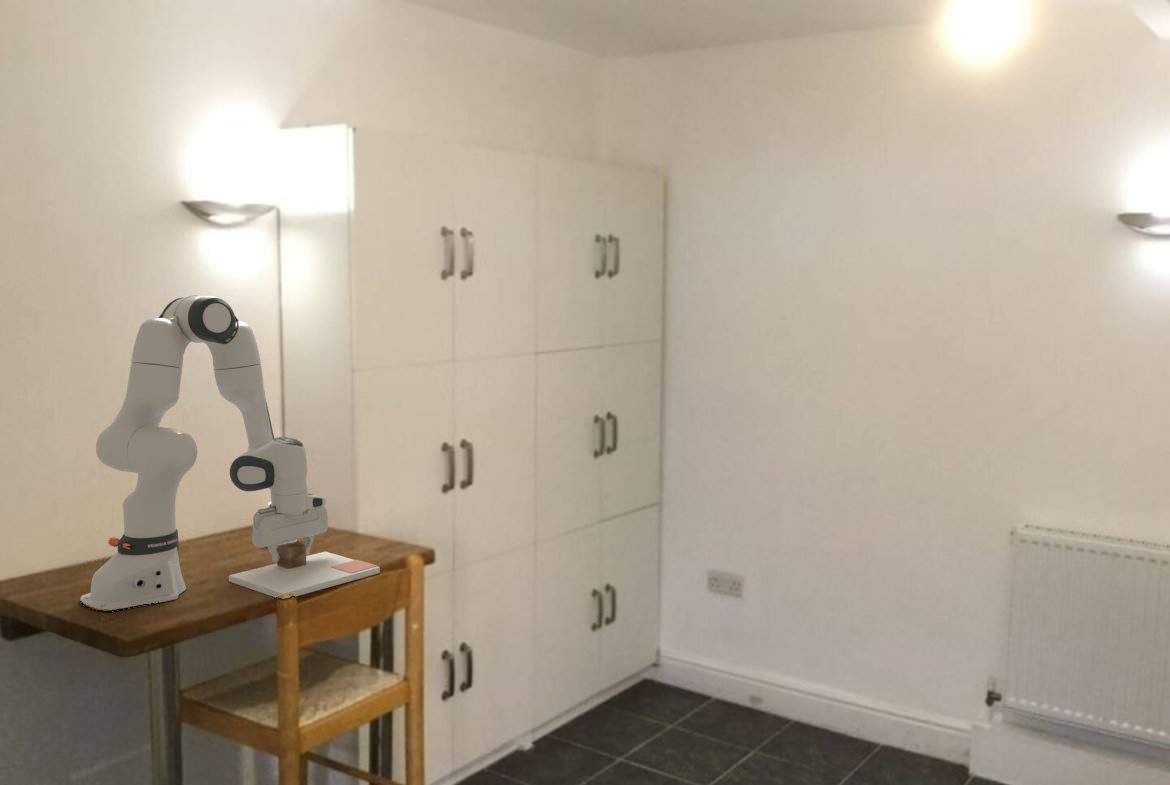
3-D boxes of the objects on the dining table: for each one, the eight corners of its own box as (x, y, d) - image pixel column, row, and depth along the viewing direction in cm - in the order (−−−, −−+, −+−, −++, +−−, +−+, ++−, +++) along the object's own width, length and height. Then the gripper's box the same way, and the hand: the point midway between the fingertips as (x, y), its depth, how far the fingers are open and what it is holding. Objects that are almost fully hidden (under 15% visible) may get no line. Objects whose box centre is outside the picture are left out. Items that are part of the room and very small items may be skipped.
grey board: (282, 600, 242) (282, 592, 242) (229, 581, 256) (228, 574, 256) (379, 572, 264) (379, 566, 264) (325, 557, 278) (325, 550, 278)
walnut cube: (289, 569, 262) (288, 549, 261) (277, 565, 265) (276, 545, 264) (306, 564, 266) (305, 545, 265) (294, 561, 269) (293, 541, 268)
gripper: (260, 512, 254) (263, 569, 255) (330, 497, 269) (332, 551, 271) (245, 508, 258) (247, 564, 259) (315, 494, 273) (317, 546, 275)
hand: (291, 557), depth 265 cm, fingers open, 7 cm apart
